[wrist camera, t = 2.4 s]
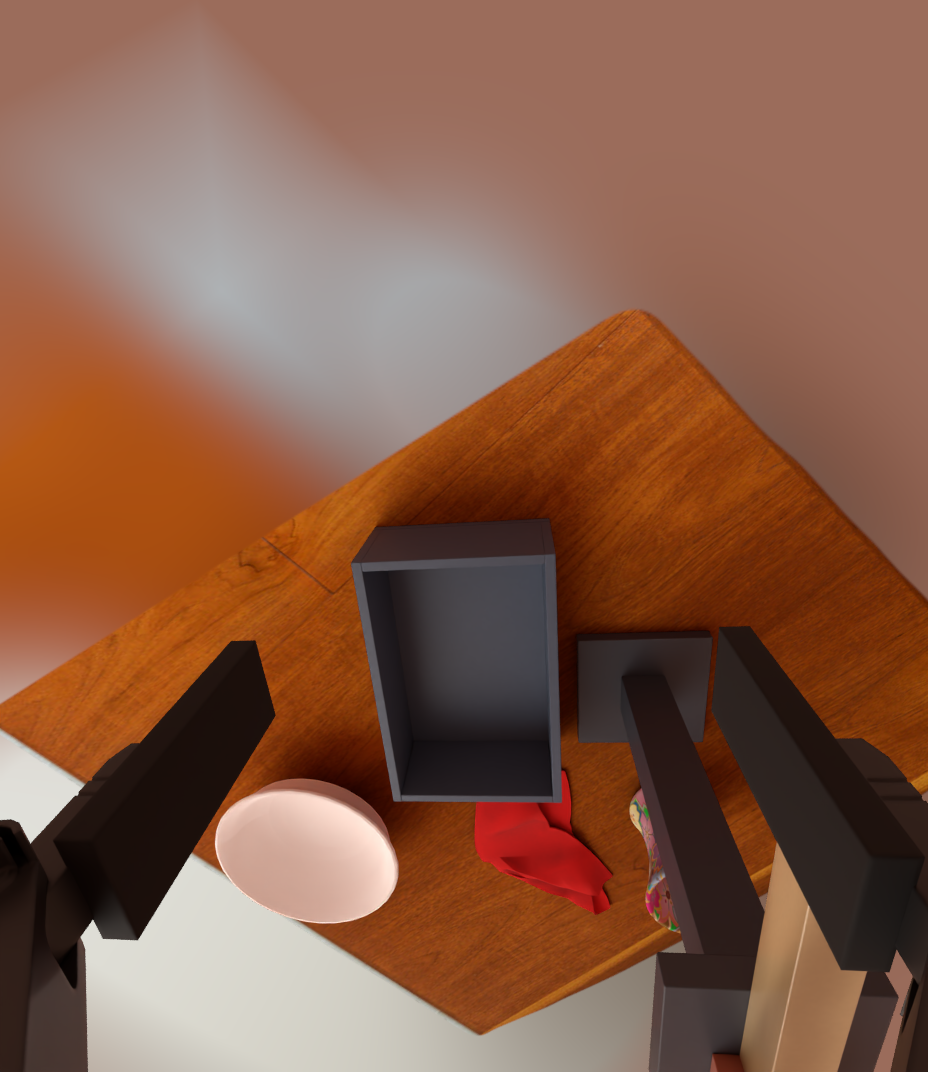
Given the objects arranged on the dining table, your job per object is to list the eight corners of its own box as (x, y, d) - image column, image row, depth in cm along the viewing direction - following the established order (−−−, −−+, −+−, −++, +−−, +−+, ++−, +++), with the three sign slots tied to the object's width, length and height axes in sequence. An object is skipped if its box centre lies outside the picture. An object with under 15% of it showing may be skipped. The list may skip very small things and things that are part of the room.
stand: (708, 630, 49) (930, 984, 23) (699, 733, 54) (876, 1130, 27) (576, 633, 51) (642, 972, 24) (577, 734, 55) (634, 1113, 29)
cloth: (435, 767, 58) (432, 784, 56) (557, 739, 56) (558, 755, 53) (515, 922, 67) (515, 941, 65) (624, 904, 64) (628, 923, 62)
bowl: (401, 883, 66) (389, 938, 60) (243, 854, 66) (217, 906, 61) (418, 761, 58) (407, 810, 52) (240, 729, 59) (210, 775, 53)
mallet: (894, 791, 19) (984, 901, 16) (806, 1114, 27) (851, 1238, 24) (749, 790, 20) (802, 896, 16) (704, 1107, 28) (733, 1227, 24)
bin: (549, 518, 47) (555, 554, 40) (556, 740, 56) (562, 803, 48) (375, 526, 48) (350, 563, 41) (408, 741, 57) (393, 801, 50)
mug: (725, 821, 58) (768, 923, 48) (641, 842, 60) (665, 944, 50) (689, 739, 54) (728, 832, 44) (601, 765, 56) (620, 859, 47)
